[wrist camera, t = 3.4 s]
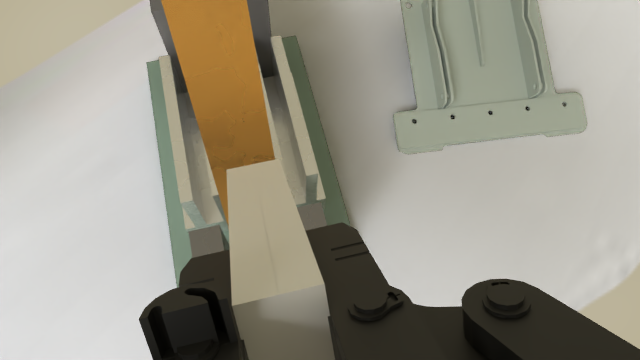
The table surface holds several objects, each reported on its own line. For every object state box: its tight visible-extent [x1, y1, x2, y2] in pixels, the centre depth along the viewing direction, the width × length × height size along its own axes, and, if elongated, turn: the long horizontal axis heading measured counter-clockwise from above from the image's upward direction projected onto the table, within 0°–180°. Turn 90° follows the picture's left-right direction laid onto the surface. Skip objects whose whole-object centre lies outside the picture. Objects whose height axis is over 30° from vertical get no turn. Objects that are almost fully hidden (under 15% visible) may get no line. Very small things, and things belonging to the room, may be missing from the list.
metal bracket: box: [393, 0, 587, 154], centre depth 39 cm, size 14×6×15 cm
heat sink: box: [159, 35, 327, 258], centre depth 31 cm, size 14×9×8 cm, turn 14°
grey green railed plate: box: [147, 36, 351, 288], centre depth 36 cm, size 19×12×1 cm, turn 14°
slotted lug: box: [150, 0, 274, 93], centre depth 34 cm, size 4×7×10 cm, turn 104°
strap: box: [161, 0, 275, 229], centre depth 22 cm, size 16×3×1 cm
